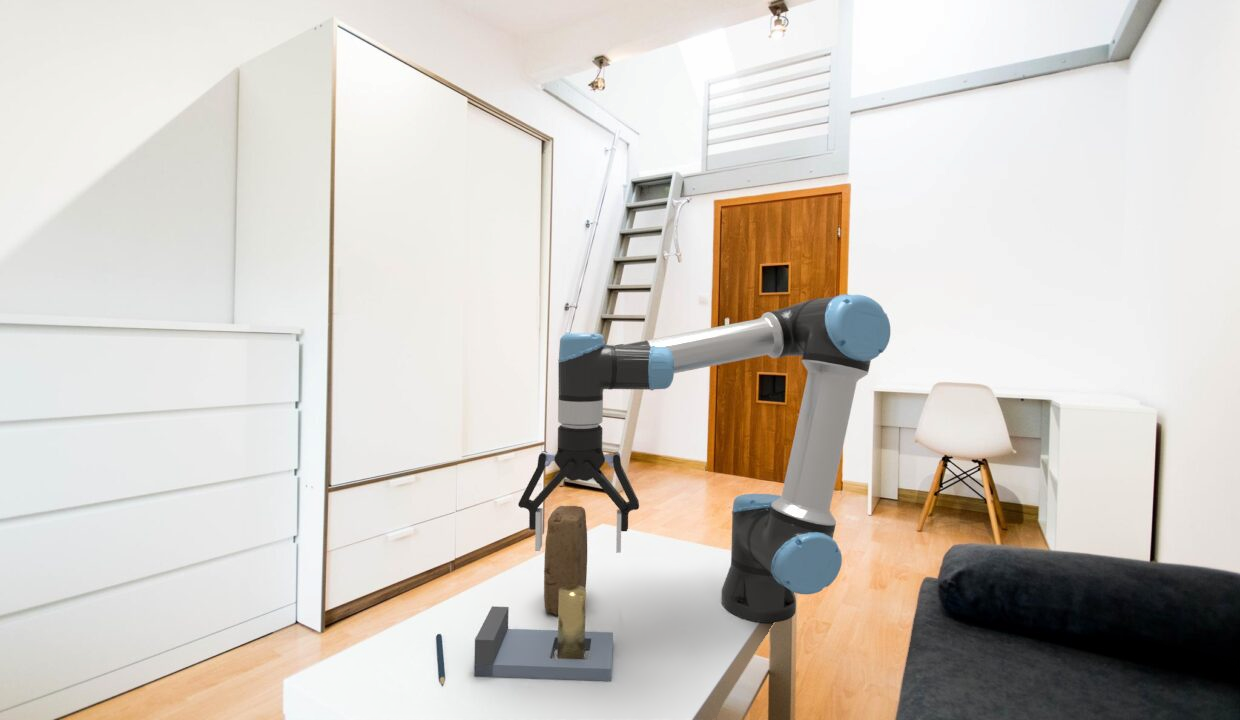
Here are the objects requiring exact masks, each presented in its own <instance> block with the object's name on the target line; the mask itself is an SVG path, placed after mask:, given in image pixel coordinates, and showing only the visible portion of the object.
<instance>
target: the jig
mask: <svg viewBox="0 0 1240 720" xmlns="http://www.w3.org/2000/svg"><path fill="white" fill-rule="evenodd" d="M509 610H510V608H509V606H491V607H490V609H489V611H488V613H487V615H486V617H485V620H484V621H483V623H482V626H481V627H480V629H479V631H478V633H477V635H476V637H475V639H474V669H473V674H474V677H484V678H485V677H488V678H508V679H509V678H510V679H511V678H513V679H517V678H518V679H539V680H540V679H543V680H565V681H567V680H570V681H595V682H596V681H597V682H598V681H601V682H611V681H612V667H613V651H614V650H613V647H614V631H613V632H611V631H609V632H608V631H586V630H585V650H589V655H588V659H584V660H582V659H557V658H553V657H554V655H555V654H554V653H555V650H557V649H558V629H555V630H554V629H530V628H529V629H527V628H526V629H524V628H509Z"/></svg>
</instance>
